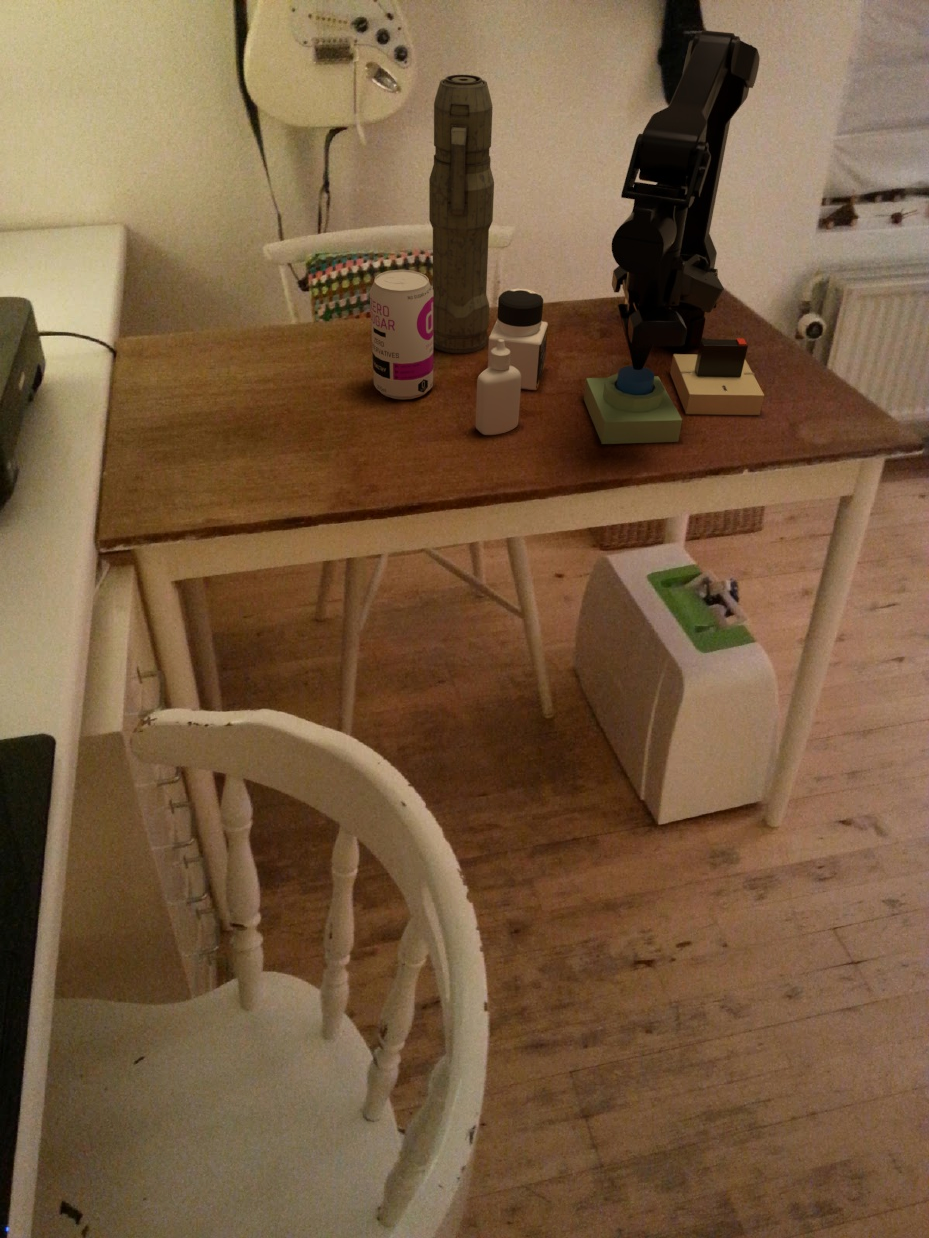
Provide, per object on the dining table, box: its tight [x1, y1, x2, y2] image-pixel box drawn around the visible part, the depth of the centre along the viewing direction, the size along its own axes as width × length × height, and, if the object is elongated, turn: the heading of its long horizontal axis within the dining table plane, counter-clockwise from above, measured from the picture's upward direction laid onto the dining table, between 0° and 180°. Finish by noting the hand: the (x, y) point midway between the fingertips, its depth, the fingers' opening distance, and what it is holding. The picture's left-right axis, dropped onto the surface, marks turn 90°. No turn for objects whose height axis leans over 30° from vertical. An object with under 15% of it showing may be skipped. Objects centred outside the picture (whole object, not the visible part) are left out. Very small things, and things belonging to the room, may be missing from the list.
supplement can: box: [369, 269, 434, 400], centre depth 126 cm, size 8×8×15 cm
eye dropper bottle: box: [474, 339, 522, 436], centre depth 120 cm, size 4×6×12 cm
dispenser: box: [583, 373, 683, 445], centre depth 124 cm, size 12×10×5 cm
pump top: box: [616, 365, 655, 395], centre depth 122 cm, size 5×5×2 cm
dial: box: [695, 337, 749, 377], centre depth 129 cm, size 6×2×5 cm, turn 90°
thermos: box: [428, 74, 495, 354], centre depth 132 cm, size 9×12×35 cm
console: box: [669, 353, 765, 416], centre depth 131 cm, size 12×10×3 cm
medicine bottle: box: [487, 288, 549, 391], centre depth 131 cm, size 7×7×12 cm
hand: (637, 368), depth 121 cm, fingers closed
